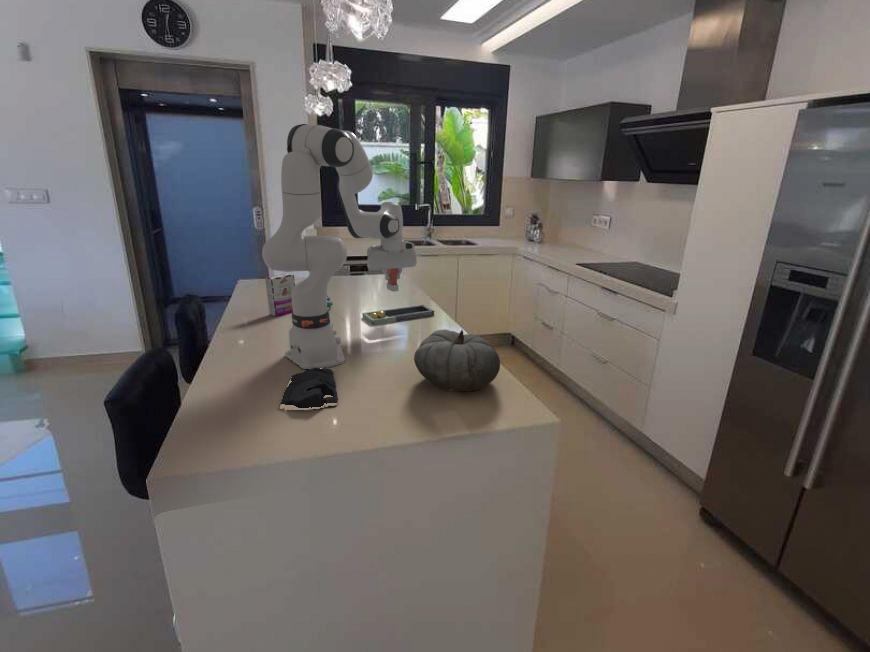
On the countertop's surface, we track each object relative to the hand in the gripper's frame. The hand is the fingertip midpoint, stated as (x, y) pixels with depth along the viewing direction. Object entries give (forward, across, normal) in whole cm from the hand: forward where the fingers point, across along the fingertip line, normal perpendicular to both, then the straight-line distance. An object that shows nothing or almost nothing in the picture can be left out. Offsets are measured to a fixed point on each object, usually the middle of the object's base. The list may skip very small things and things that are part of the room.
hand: (392, 279), depth 182 cm
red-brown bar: (+4, 0, 0) cm, 4 cm away
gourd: (+19, -7, -61) cm, 64 cm away
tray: (+17, -5, +1) cm, 18 cm away
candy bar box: (+17, -38, +30) cm, 51 cm away
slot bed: (+17, +8, +1) cm, 19 cm away
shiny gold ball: (+16, -9, +1) cm, 19 cm away
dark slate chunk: (+20, -46, -48) cm, 69 cm away
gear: (+17, -23, +27) cm, 39 cm away
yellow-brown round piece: (+16, -5, +1) cm, 17 cm away
